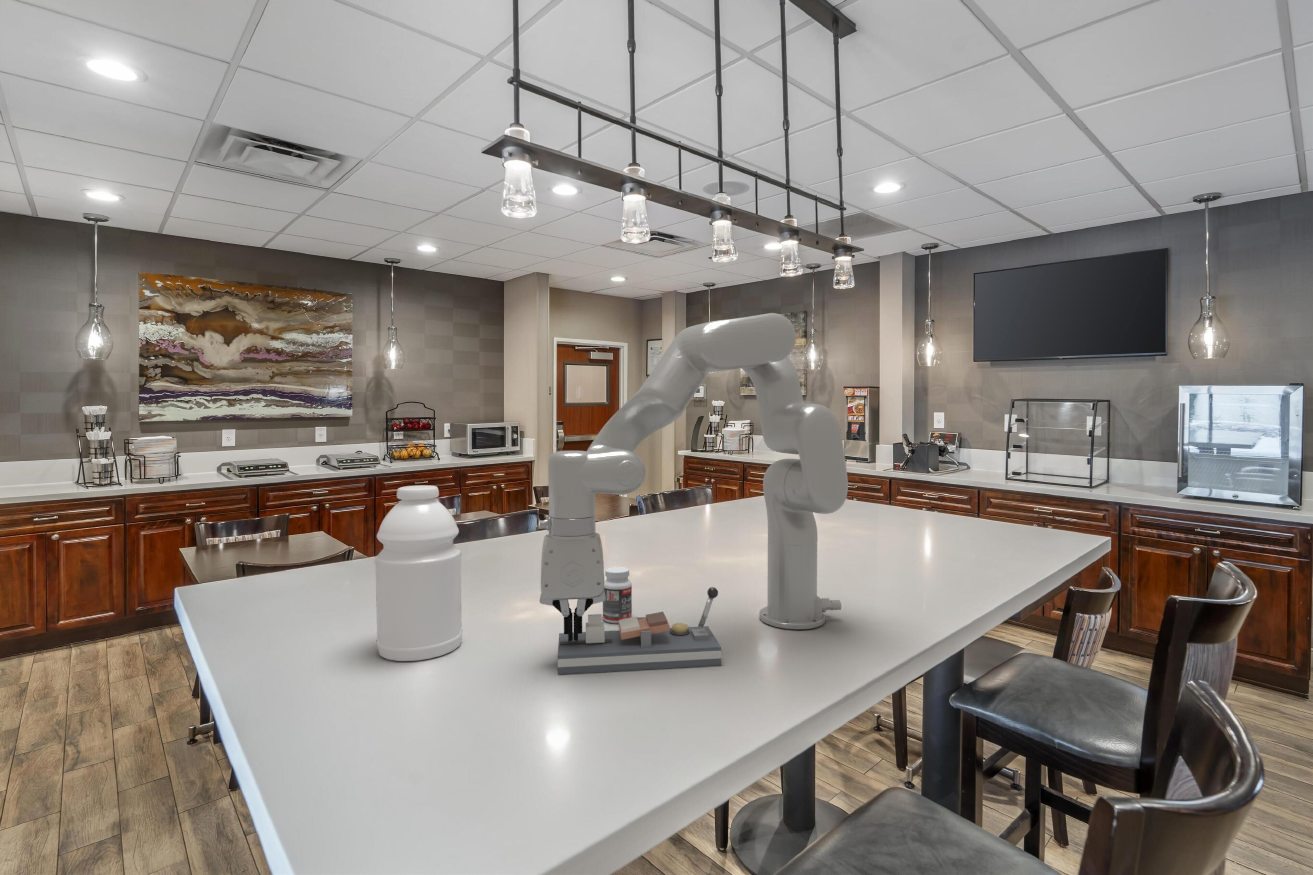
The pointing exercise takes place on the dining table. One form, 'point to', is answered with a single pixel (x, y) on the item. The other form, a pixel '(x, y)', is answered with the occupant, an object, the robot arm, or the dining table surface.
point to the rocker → (643, 625)
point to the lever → (707, 606)
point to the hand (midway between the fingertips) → (573, 637)
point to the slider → (595, 629)
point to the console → (640, 651)
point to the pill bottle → (617, 595)
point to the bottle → (418, 578)
